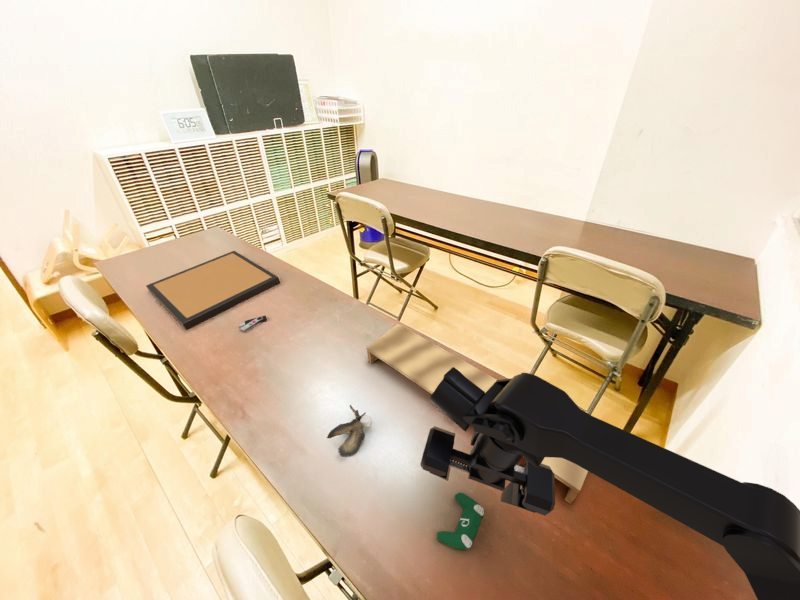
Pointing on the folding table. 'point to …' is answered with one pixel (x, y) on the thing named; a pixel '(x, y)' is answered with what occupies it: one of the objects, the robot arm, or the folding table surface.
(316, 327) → the folding table surface
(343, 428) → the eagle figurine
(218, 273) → the cork board
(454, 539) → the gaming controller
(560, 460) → the shelf
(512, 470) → the robot arm
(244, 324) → the usb flash drive
